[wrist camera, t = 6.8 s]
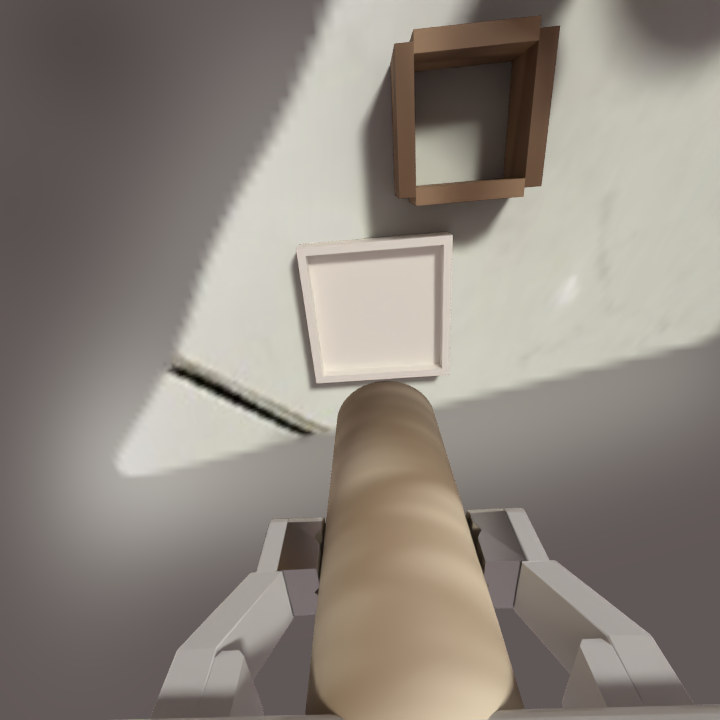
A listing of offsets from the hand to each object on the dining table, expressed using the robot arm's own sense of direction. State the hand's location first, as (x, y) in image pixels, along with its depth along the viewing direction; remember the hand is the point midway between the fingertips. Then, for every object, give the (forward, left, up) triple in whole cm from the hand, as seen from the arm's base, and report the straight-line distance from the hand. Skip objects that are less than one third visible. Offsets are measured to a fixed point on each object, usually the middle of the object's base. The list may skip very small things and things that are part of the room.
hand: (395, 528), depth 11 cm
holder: (-6, -12, -22) cm, 25 cm away
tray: (0, 0, -22) cm, 22 cm away
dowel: (0, 0, -5) cm, 5 cm away
